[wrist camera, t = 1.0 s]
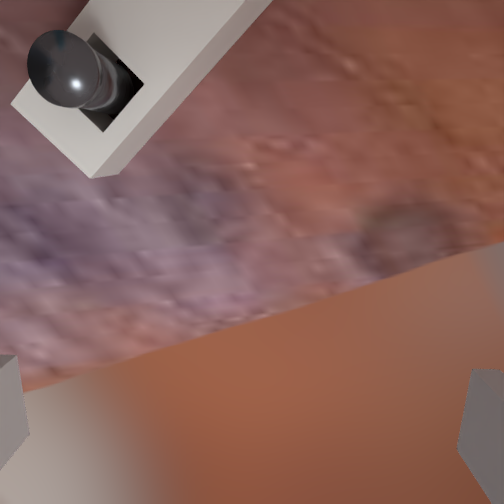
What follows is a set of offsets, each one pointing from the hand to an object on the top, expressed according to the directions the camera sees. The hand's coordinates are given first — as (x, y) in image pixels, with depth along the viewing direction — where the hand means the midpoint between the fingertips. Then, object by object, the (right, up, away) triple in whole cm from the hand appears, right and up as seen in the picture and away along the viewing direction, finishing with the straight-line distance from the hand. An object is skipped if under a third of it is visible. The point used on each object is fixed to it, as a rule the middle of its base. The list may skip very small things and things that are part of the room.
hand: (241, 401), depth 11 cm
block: (-6, +23, +22) cm, 33 cm away
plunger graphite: (-11, +18, +20) cm, 29 cm away
